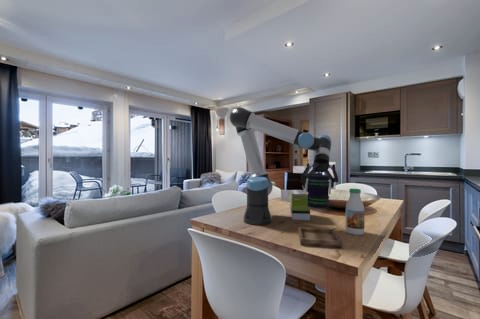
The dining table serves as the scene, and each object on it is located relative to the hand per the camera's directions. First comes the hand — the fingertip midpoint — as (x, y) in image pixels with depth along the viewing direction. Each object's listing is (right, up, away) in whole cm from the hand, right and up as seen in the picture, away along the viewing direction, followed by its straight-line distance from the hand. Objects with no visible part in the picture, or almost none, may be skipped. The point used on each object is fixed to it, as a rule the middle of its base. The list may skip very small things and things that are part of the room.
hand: (317, 191), depth 105 cm
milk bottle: (+16, -19, -2) cm, 25 cm away
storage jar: (+1, -8, +3) cm, 8 cm away
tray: (-4, -19, -11) cm, 22 cm away
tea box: (-2, -19, +26) cm, 32 cm away
